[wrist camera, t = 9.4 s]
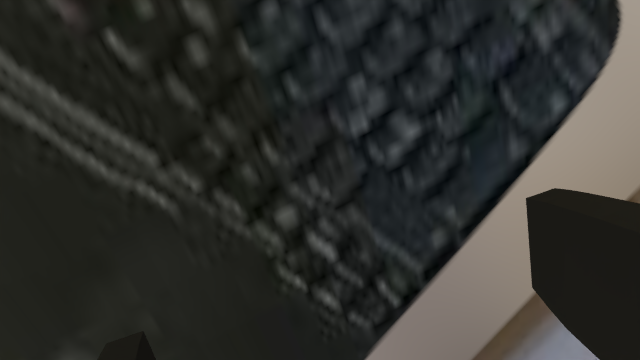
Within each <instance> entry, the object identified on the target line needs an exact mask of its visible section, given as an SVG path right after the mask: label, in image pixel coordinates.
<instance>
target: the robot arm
mask: <svg viewBox="0 0 640 360" xmlns="http://www.w3.org/2000/svg"><path fill="white" fill-rule="evenodd" d="M526 205H527V218H528V232H529V248H530V262H531V276H532V287H533V289H534V290H535V291H536V293H537V294H538V295H539V296H540V298H541V299H542V300H543V301H544V303H545V304H546V305H547V306H548V308H549V309H550V310H551V311H552V312H553V313H554V315H555V316H556V317H557V318H558V319H559V320H560V322H561V323H562V324H563V325H564V326H565V327H566V328H567V329H568V330H569V331H570V332H571V333H572V334H573V335H574V336H575V337H576V338H577V339H578V340H579V341H580V342H581V343H582V344H584V345H585V346H586V347H587V348H588V349H589V350H590V351H591V352H592V353H593V354H594V355H595V356H596V357H598V358H599V359H600V360H640V204H639V203H634V202H629V201H624V200H619V199H614V198H610V197H605V196H600V195H595V194H590V193H584V192H578V191H572V190H565V189H556V188H555V189H551V190H549V191H546V192H543V193H540V194H537V195H534V196H531V197H528V198H526ZM97 360H156V359H155V356H154V354H153V352H152V350H151V347H150V345H149V343H148V341H147V338H146V336H145V334H144V331H142V332H139V333H136V334H133V335H130V336H127V337H125V338H122V339H119V340H116V341H113V342H110V343H107V344H106V346H105V347H104V349H103V351H102V352H101V354H100V356H99V358H98V359H97Z"/></svg>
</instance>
